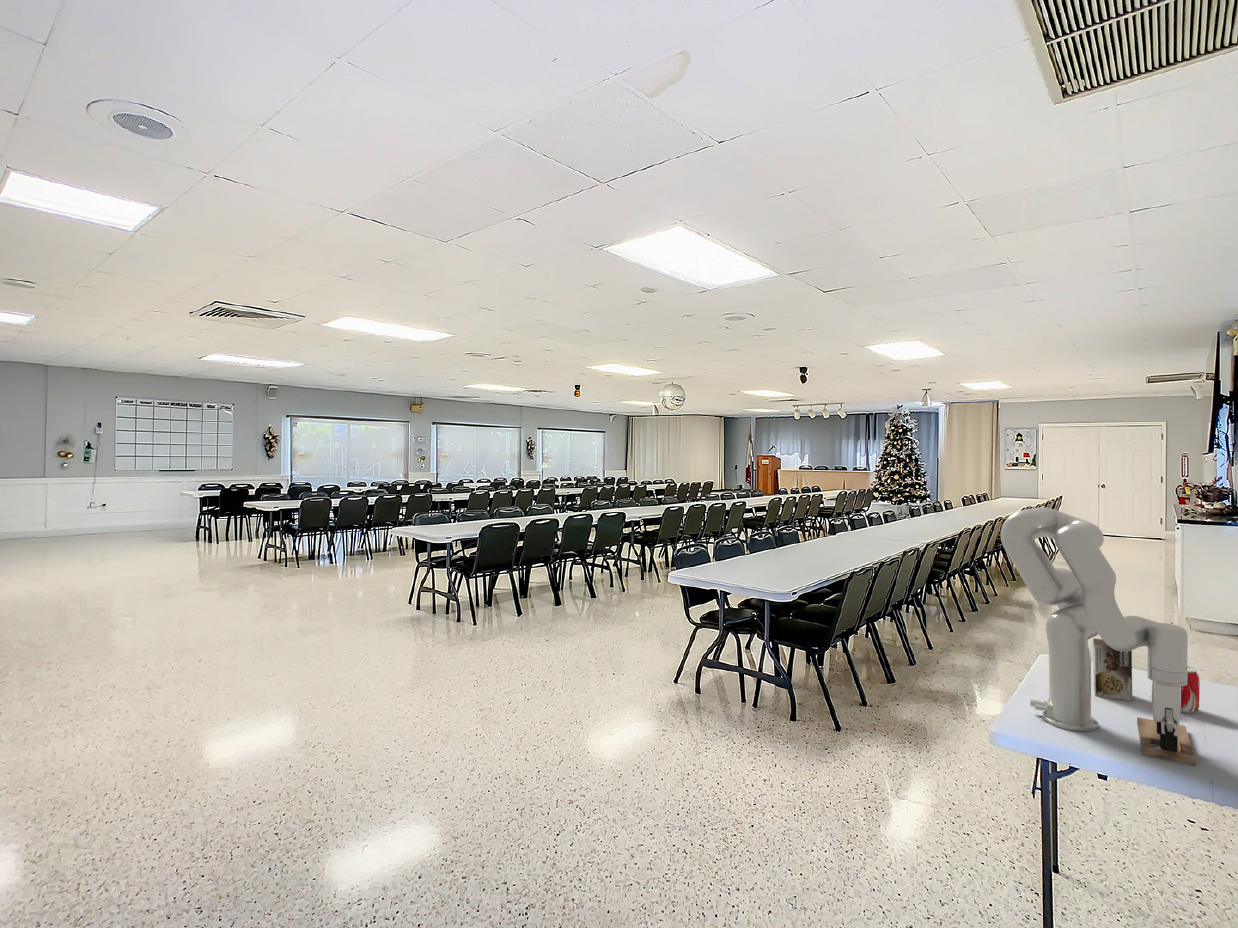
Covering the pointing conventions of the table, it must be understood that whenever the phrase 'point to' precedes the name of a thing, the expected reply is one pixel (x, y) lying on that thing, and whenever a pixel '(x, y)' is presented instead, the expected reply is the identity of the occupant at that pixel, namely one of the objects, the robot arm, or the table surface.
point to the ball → (1178, 748)
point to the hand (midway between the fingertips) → (1166, 742)
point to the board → (1150, 736)
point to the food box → (1112, 672)
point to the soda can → (1190, 692)
